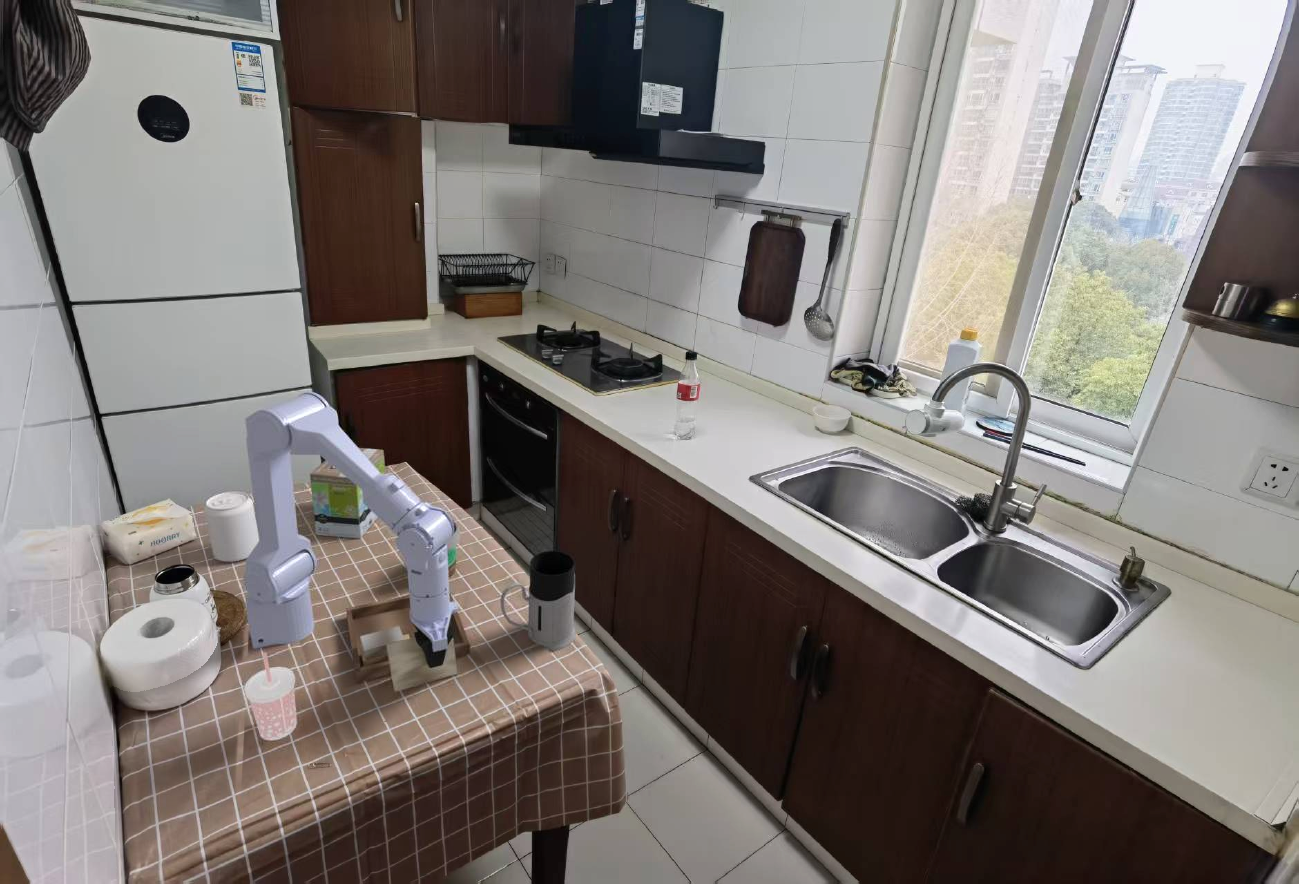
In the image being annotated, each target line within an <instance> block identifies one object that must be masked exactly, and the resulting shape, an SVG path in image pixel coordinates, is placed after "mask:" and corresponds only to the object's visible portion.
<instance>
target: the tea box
mask: <svg viewBox="0 0 1299 884" xmlns="http://www.w3.org/2000/svg"><path fill="white" fill-rule="evenodd" d="M358 448H359V449H360V450H361V452H362V453H363V454H364V455H365V456H366V457H367V458H368V460H369V461H370V462H371V463H372V464H373V465H374V466H375V467H376V469H377V470H378V471H379V472H380V473H381V474H386V465H385V464H386V463H385V453H384V450H383V449H379V448H378V449H375V448H363V447H358ZM309 479H310V480H309V481H310V488H311V499H312V506H313V516H314V527H315V535H317V536H325V537H335V538H336V537H337V538H349V539H350V538H351V539H361V538H362V537H363V535H365V533H366V532H367V531H368V530H369V529H370V527H371V526H373V524H374V522H375V521H376V520H378V519H379V518H378V517H377V516H376V515H375V514H374V513H373V512H372V511H371V510H370V509H369V508H368V507H367V506H366V505H365V504H364V503H363V492H362V489H360V488H359V487H358V486H357V485H356V484H354V483H353V482H352V481H351V480H350V479H348V478H347V477H346V476H345V475H343V474H342V473H341V472H340V471H339V470H337V469H336V468H335V467H334V466H333V465H331V464H330V463H329V462H328V461H326V460H325V459H324V461H323V462H321V464H320V465H318V466H317V467H316V468H315V469H314V470H313V471H311V472H310V473H309Z"/></svg>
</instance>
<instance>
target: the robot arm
mask: <svg viewBox="0 0 1299 884" xmlns="http://www.w3.org/2000/svg"><path fill="white" fill-rule="evenodd" d="M244 420H245V421H244V422H245V426H246V427H245V428H246V438H245V439H246V450H247V459H248V464H249V473H250V480H251V481H250V482H251V488H252V496H253V505H254V512H255V518H256V523H257V529H258V535H259V542H258V543H257V545H256V546H255V548H254V549H253V551H252V552H251V553H250V555H249V556H248V558H246V559H245V572H244V574H243V585H244V588H245V590H246V592H247V594H246V596H245V606H246V607H245V609H246V610H245V611H246V617H247V624H248V632H249V636H250V638H251V645H252V649H255V650H256V649H261V648H265V647H269V646H270V647H271V646H275V645H286V644H294V643H297V642H299V641H301V640H303V639H305V638H307V637H308V636H309V635H310V634H312V632H313V631H314V629H315V620H314V612H313V607H312V601H311V600H312V599H311V592H310V583H311V582H312V574H314V573H315V571H317V568H318V561H317V557H316V554H315V553H314V551H313V549H312V545H311V544H312V542H311V540H310V539H308V537H306V536H304V535H301V534H299V533H298V532H299V531H298V522H297V513H296V511H297V510H296V503H295V493H294V492H295V491H294V485H293V484H294V483H293V473H292V462H291V455H292V456H303V455H306V456H309V455H313V456H314V455H316V456H317V455H318V456H321V457H322V458H323V459H324V461H325V460H326V461H328V462H329V463H330V464H331V465H333V466H334V467H335V468H336V469H337V470H339V471H340V472H341V473H342V474H343V475H345V476H346V477H347V478H348V479H350V480H351V481H352V482H353V483H354V484H356V485H357V486H358V487H359V488H360V489H362V492H363V503H364V504H365V505H366V506H367V507H368V508H369V509H370V510H371V511H372V512H373V513H374V514H375V515H376V516H377V517H378V518H377V519H379V520H380V521H382V522H383V524H385V525H386V526H387V528H389V530H391V531H392V532H393V533H394V534H395V535H396V536H397V537H396V538H395V544H396V546H397V547H396V548H397V549H398V550H399V552H400V553H401V555H402V556H403V559H404V565H405V566H406V567H405V568H407V569H406V570H407V580H408V581H407V582H408V594H409V597H410V613H409V617H410V621H411V622H412V624H413V625H414V626H415V628H416V629H417V631H418V632H414V636H415V639H416V642H417V644H418V645H419V646H420V647H421V648H422V650H423V651H424V654H425V657H426V661H427V664H428V666H429V668H433V667H437V666H441V665H443V662H444V659H445V654H446V650H447V648H448V645H449V643H450V641H451V640H452V638H453V637H454V629H453V626H450V627H448V626H449V622H450V618H451V614H452V613H456V612H458V611H459V606H458V603H457V602H456V601H454V602H450V597H449V590H450V580H449V579H450V577H449V576H448V555H447V544H445V543H446V542H447V541H448V540H449V539H450V538H451V537H452V536H453V534H454V524H453V521H454V520H453V519H452V518H451V516H450V515H449V513H447V511H446V509H444V508H441V507H440V506H435V505H432V504H430V503H429V502H426V501H424V502H423V501H422V499H420V498H419V497H418V496H416V495H417V494H415V493H414V492H413V491H412V490H410V489H409V487H408V486H406V485H405V483H404V482H403V481H402V480H401V479H400V478H398V477H397V476H396V475H395V474H389V473H385V474H381V473H380V472H379V471H378V470H377V469H376V467H375V466H374V465H373V464H372V463H371V462H370V461H369V460H368V458H367V457H366V456H365V455H364V454H363V453H362V452H361V450H360V449H359V448H360V447H358V446H357V444H355V442H353V440H352V439H351V438H350V437H349V435H348V434H347V433H345V431H344V430H343V429H342V428H341V427H340V425H339V416H338V413H337V410H335V409H334V408H333V407H332V406H330V404H329V403H328V401H327V400H326V399H325V398H324V396H322V395H320V394H318V393H317V392H313V391H306V392H302V393H301V394H299V395H298V396H296V397H293V398H290V399H288V400H285V401H283V402H280V403H278V404H275V405H272V406H269V407H267V408H262V409H259V410H256V411H255V412H253V413H252V414H249V416H247V417H245V419H244ZM452 520H453V521H452Z"/></svg>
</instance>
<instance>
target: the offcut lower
mask: <svg viewBox="0 0 1299 884" xmlns="http://www.w3.org/2000/svg"><path fill="white" fill-rule="evenodd" d="M403 638H404V640H406V639H410V637H409V634H406V635H403ZM360 647H361V645H360ZM361 655H362V661H363V667H365V666H370V665H374V664H378V663H382V662H386V661H389V658H388V655H384V656H381V657H377V658H374V659H370V660H367V661H366V660H365V657H364V654H363V650H362V647H361Z"/></svg>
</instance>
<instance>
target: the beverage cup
mask: <svg viewBox="0 0 1299 884" xmlns="http://www.w3.org/2000/svg"><path fill="white" fill-rule="evenodd" d="M262 658H263V662H264V663H263V664H264V670H260V671H258V672H256V673H255V674H254V675H252V676H251V677H250V678H249V679H248V680H247V681H246V682H245V684H244V688H243V691H244V693H245V696H246V699H247V700H249V702H250V707H251V709H252V713H253V716H254V719H255V722H256V726H257V730H258V732H259V735H260V737H261V738H262V739H263V740H266V741H276V740H281V739H284V738H286V737H288V735H290V734H291V733H292V732H293V731H294V730H295V729H296V727H297V723H298V722H297V721H298V720H297V708H296V695H295V684H296V676H295V675H296V674H295V673H294V671H293V670H292V669H290V668H288V667H283V666H276V667H275V666H274V667H273V666H272V667H270V665H269V660H268V654H267V652H265V651H264V652H262Z"/></svg>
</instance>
